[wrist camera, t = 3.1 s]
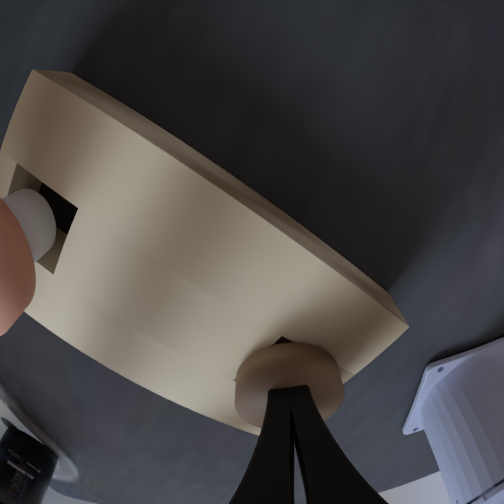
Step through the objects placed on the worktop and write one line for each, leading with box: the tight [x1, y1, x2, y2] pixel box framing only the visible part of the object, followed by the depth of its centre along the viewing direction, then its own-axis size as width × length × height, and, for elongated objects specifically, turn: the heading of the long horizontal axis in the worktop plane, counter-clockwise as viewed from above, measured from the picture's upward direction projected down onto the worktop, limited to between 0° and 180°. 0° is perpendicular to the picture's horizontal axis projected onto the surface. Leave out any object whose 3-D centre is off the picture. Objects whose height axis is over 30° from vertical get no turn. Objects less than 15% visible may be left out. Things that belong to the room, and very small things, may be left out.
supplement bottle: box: [0, 428, 57, 504], centre depth 17 cm, size 7×7×12 cm
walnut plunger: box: [235, 336, 345, 428], centre depth 12 cm, size 4×4×4 cm
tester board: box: [0, 69, 409, 435], centre depth 11 cm, size 16×9×2 cm, turn 54°
